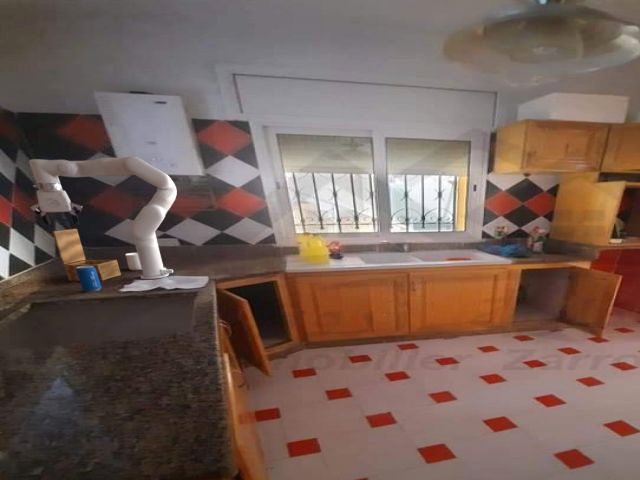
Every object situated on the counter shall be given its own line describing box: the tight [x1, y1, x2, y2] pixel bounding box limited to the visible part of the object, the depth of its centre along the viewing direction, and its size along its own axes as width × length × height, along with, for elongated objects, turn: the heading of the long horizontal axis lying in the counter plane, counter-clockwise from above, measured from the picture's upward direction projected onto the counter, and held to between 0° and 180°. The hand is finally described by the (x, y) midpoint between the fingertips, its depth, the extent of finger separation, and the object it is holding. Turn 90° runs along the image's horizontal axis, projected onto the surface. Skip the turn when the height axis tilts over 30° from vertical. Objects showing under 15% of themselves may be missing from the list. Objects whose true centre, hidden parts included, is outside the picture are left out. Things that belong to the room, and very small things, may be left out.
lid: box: [51, 228, 87, 265], centre depth 172 cm, size 17×13×5 cm
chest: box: [63, 259, 122, 282], centre depth 177 cm, size 17×13×9 cm
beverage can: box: [76, 265, 102, 293], centre depth 154 cm, size 6×6×12 cm
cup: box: [124, 252, 142, 271], centre depth 198 cm, size 10×10×10 cm
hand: (63, 224), depth 155 cm, fingers open, 9 cm apart
